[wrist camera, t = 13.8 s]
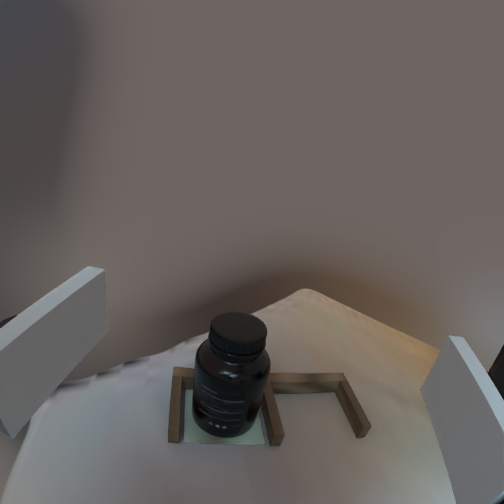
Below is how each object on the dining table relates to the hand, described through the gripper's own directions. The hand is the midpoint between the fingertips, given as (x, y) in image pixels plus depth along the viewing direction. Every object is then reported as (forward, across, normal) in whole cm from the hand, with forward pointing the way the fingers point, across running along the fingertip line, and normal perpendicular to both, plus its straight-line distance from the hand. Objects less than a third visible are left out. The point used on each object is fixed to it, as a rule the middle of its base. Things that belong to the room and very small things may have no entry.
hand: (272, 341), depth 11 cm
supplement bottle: (+13, -3, -20) cm, 24 cm away
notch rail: (+15, +2, -21) cm, 25 cm away
